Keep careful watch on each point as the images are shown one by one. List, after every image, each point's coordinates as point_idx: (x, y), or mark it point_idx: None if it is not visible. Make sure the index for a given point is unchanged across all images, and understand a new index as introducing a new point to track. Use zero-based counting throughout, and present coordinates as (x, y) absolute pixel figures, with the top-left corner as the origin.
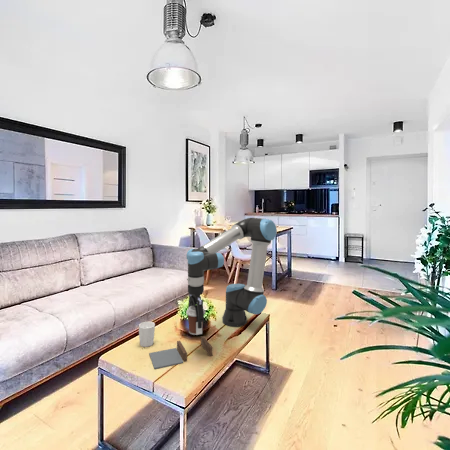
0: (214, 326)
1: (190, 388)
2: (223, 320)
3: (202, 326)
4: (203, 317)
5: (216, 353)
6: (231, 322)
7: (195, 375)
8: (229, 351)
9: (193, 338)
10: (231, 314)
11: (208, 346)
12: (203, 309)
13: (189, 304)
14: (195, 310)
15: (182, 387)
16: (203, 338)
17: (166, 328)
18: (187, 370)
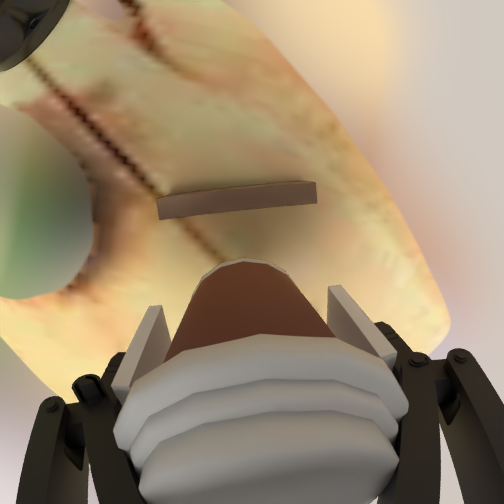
0: (21, 109)
1: (445, 313)
2: (6, 62)
3: (283, 280)
4: (484, 377)
5: (288, 153)
6: (41, 22)
7: (406, 290)
8: (288, 82)
9: (102, 239)
10: (11, 12)
11: (295, 203)
12: (303, 400)
13: (87, 497)
14: (371, 500)
15: (431, 334)
16: (185, 208)
17: (23, 335)
18: (369, 314)
